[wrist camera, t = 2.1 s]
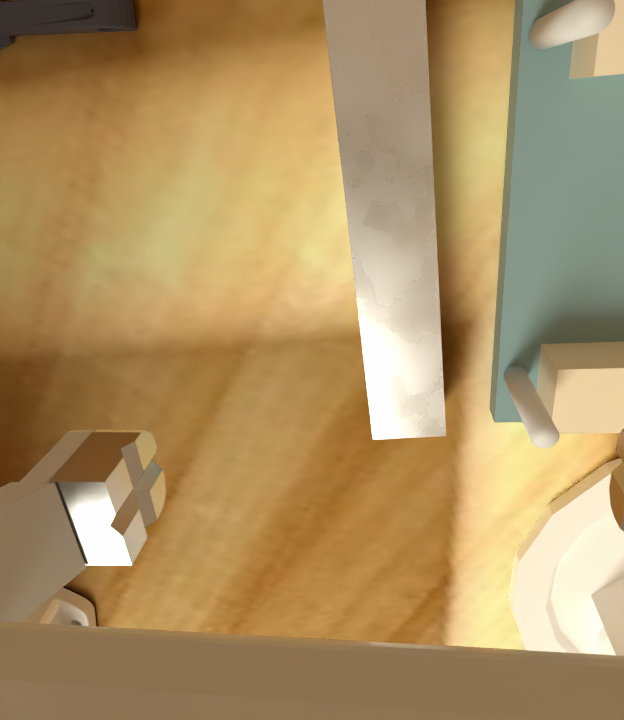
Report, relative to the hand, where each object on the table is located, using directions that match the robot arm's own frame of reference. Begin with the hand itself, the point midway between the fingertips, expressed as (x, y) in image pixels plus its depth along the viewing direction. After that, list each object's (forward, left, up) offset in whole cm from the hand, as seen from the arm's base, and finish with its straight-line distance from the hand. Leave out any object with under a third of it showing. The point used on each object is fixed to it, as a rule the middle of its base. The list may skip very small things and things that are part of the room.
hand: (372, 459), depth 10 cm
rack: (0, -11, -21) cm, 23 cm away
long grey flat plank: (0, -1, -21) cm, 21 cm away
